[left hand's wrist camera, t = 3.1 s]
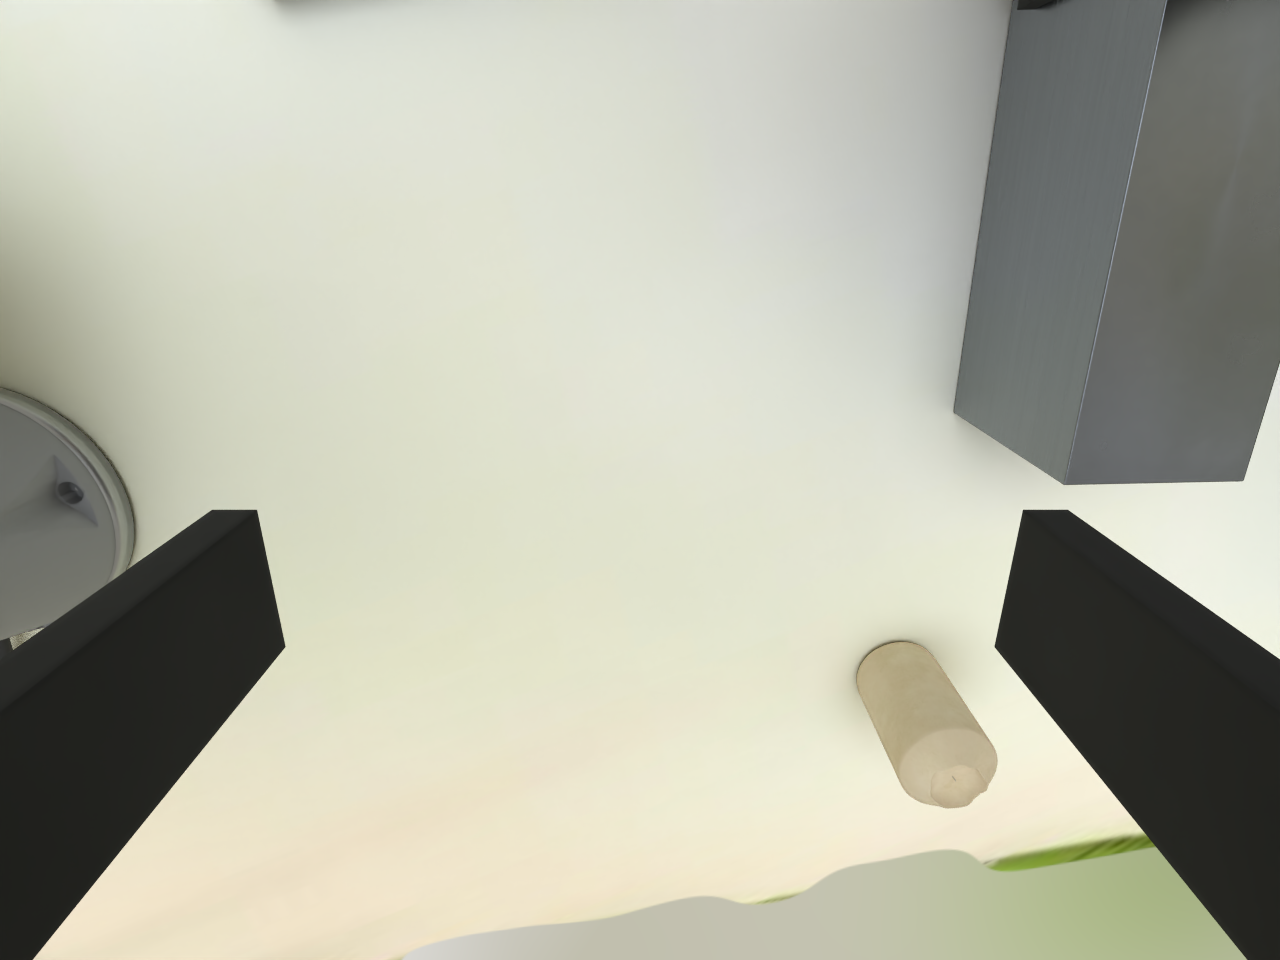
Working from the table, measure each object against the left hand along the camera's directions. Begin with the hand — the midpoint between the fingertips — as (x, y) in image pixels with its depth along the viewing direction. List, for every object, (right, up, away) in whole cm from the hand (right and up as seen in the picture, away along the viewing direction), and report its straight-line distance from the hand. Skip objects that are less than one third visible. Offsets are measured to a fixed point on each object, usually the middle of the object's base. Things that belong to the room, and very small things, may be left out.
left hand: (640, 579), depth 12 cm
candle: (+17, -11, +36) cm, 41 cm away
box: (+22, +18, +25) cm, 37 cm away
